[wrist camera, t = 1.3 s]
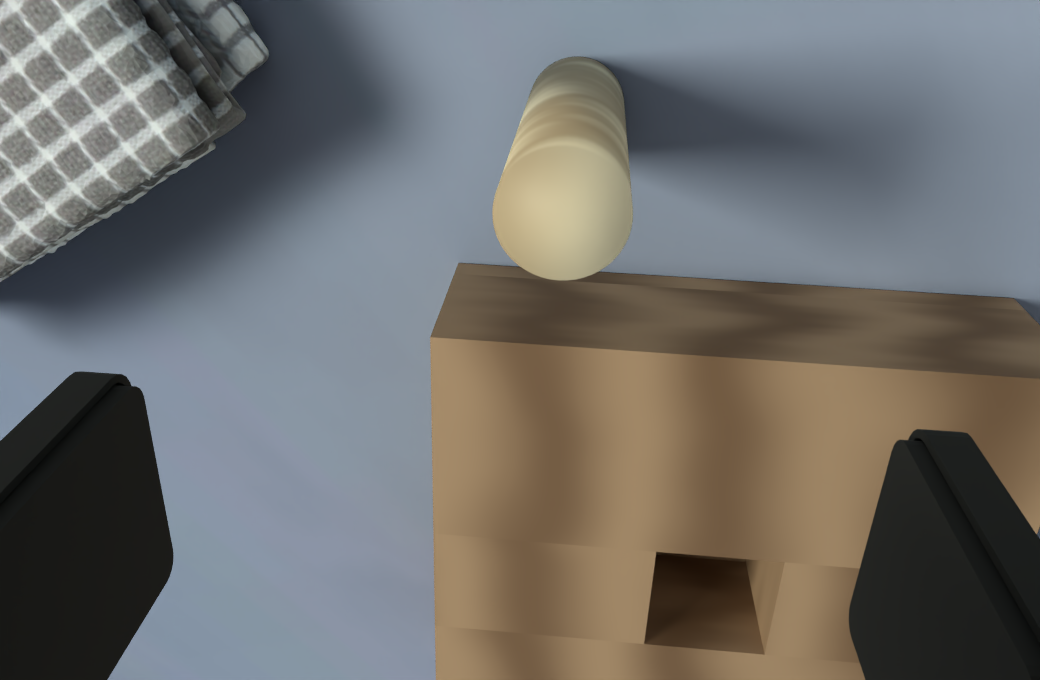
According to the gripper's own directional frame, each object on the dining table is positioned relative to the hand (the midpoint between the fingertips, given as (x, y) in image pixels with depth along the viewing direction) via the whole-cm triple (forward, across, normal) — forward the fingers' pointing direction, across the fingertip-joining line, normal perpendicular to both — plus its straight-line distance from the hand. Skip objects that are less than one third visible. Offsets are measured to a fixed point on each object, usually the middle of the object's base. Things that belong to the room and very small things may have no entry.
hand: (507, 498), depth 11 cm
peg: (+21, 0, 0) cm, 21 cm away
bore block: (+21, -6, +16) cm, 27 cm away
